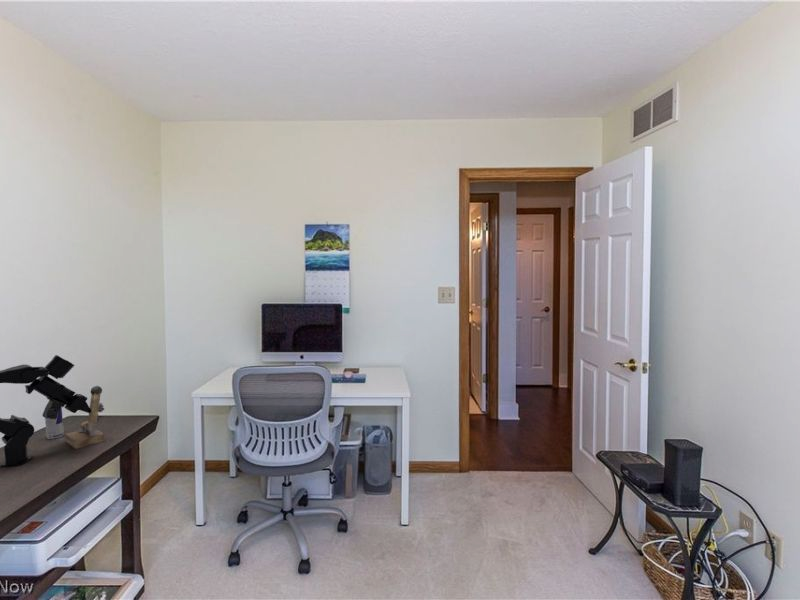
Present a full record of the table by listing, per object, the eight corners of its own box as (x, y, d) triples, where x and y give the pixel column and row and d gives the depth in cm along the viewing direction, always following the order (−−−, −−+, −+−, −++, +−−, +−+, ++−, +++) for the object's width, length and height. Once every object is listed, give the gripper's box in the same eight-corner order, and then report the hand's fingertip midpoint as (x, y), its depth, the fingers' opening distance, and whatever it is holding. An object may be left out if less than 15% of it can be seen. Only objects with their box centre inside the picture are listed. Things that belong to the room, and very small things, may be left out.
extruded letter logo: (100, 412, 210) (99, 400, 209) (104, 412, 210) (103, 399, 210) (83, 430, 186) (82, 416, 186) (88, 430, 187) (87, 416, 186)
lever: (87, 433, 170) (93, 386, 171) (83, 431, 172) (89, 385, 173) (98, 432, 173) (104, 386, 174) (94, 430, 175) (100, 385, 176)
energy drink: (67, 434, 182) (64, 404, 181) (56, 439, 176) (53, 408, 176) (54, 434, 182) (52, 404, 181) (43, 439, 177) (40, 408, 176)
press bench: (76, 448, 166) (74, 429, 166) (65, 441, 173) (64, 423, 173) (104, 441, 173) (102, 422, 173) (93, 434, 180) (91, 417, 180)
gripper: (25, 404, 164) (65, 426, 174) (40, 414, 153) (82, 436, 162) (50, 378, 170) (87, 400, 179) (67, 385, 158) (105, 408, 168)
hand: (90, 411), depth 172 cm, fingers closed, pressing on lever
